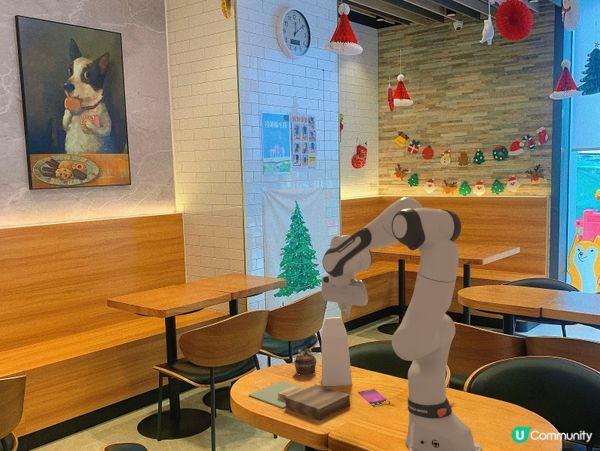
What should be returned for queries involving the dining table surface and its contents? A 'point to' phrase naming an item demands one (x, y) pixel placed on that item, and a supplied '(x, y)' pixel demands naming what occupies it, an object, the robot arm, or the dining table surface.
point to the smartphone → (372, 397)
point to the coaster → (288, 392)
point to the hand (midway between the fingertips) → (345, 314)
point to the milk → (335, 353)
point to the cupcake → (305, 362)
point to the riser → (317, 401)
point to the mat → (274, 393)
